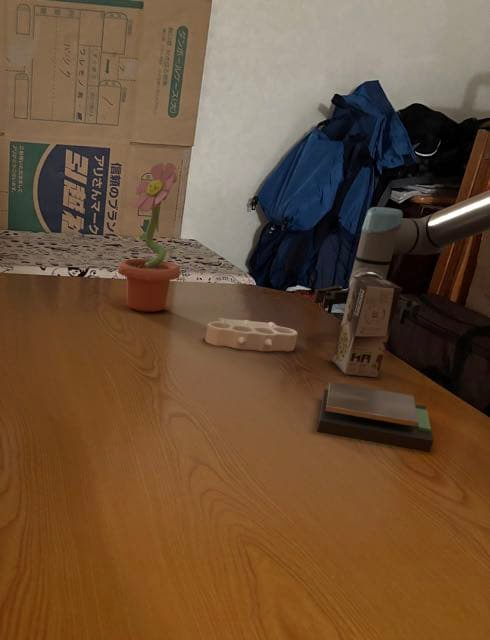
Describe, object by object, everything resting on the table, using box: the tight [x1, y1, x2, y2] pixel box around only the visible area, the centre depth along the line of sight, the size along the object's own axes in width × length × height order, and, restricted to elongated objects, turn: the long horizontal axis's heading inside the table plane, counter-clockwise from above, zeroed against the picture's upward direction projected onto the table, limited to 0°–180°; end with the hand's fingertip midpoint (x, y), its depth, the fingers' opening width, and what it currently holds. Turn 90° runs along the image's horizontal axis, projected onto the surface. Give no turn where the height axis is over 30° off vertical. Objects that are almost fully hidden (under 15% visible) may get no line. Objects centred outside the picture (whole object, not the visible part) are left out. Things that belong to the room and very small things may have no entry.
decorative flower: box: [117, 162, 181, 313], centre depth 169 cm, size 15×14×30 cm
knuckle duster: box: [204, 317, 299, 353], centre depth 156 cm, size 3×18×15 cm
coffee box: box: [332, 276, 403, 378], centre depth 142 cm, size 9×6×16 cm
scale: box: [316, 389, 434, 453], centre depth 120 cm, size 16×16×2 cm
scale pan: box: [326, 381, 418, 427], centre depth 119 cm, size 13×13×1 cm
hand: (366, 311), depth 148 cm, fingers open, 13 cm apart
